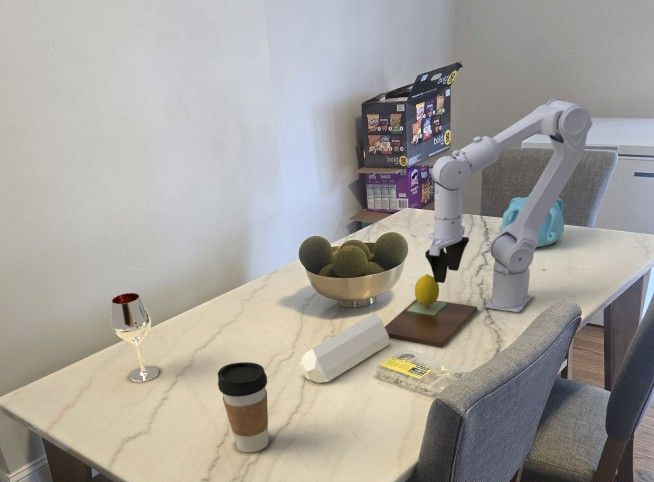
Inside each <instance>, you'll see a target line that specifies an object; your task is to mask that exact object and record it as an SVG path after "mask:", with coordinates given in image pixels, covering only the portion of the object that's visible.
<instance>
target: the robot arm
mask: <svg viewBox="0 0 654 482" xmlns="http://www.w3.org/2000/svg"><path fill="white" fill-rule="evenodd" d="M592 126H593V121H592V118H591V114H590V111H589V109H588V108H587V106H585V105H584V104H581V103H573V102H570V101H566V100H564V99H561V98H554V99H551V100H549V101H547V102H546V103H545V104H542V105H539V106H537V107H536V108H535V109H534V110H533V111H532V112H531V113H529V114H527V115H526V116H524V117H523V118H521V119H520V120H518V121H516V122H515V123H513V124H512V125H510V126H509V127H507V128H505V129H504V130H502V131H500V132H499V133H498V134H496V135H495V136H493V137H490V136H487V135H484V136H482V137H481V136H475V137H474V138H473V140H472V141H473V142H471V143H470V144H468V145H466V146H464V147H463V148H461V149H459V150H458V149H455V150H453V151H452V153H451V154H452V155H444V156H441V157H440V158H438V159H437V160H436V161H435V163H434V164H433V166H432V170H430V176H431V177H430V178H431V179H432V180H433V181H434V219H433V220H434V221H433V222H434V224H433V225H434V227H433V231H434V232H433V233H430V234H429V235H428V236H429V237H428V238H429V239H430V240H432V242H431V244H430V245H429V249H428V250H426V251H425V252H424V254H425V255H424V257H425V258H426V260H427V261H428V263H429V265H430V267H431V268H430V269H431V271H432V275H433V276H432V277H434V280H435V282H438V284H444V283H445V282H446V279H447V275H448V271H455V272H458V271H459V269H460V266H461V261H462V258H463V254H464V252H465V250H466V248H467V245H468V243H469V242H470V238H469V237H468V236H464V235H465V229H466V227H465V225H462V223H463V222H462V220H463V219H462V217H463V186H464V185H465V184H466V182H467V180H468V178H470V177H472V176H473V175H475V174H477V173H479V172H480V171H482V170H484V169H485V168H488V167H489V166H491V165H493V164H494V163H496V162H497V161H498V158H499V156H500V154H501V153H503V152H505V151H506V150H508V149H510V148H512V147H514V146H516V145H518V144H521V143H522V142H524V141H527V140H528V139H530V138H532V137H534V136H536V135H542V136H544V135H545V136H548V137H549V139H550V142H551V145H552V149H553V154H552V156H551V158H550V160H549V161H548V163H547V165H546V166H545V169H544V170H543V171H542V173H541V175H540V177H539V179H538V180H537V181H536V184H535V185H534V187H533V189H532V191H531V192H530V193H529V194H530V196H529V195H528V196H527V197H528V199H527V201H526V203H525V204H524V206H523V208H522V210H521V211H520V213H519V215H518V216H517V218H516V220H515V221H514V222H513V223H511V224H509V225H507V226H506V227H505V228H504V230H503V232H502V233H501V232H500V234H498V235H497V236H495V238H494V239H493V240H492V242H491V244H490V247H489V251H490V255H491V256H492V258H493V259H494V264H493V270H492V271H493V272H492V273H493V274H492V289H491V290H492V291H491V299H490V300H489V301H488V302H487V303H486V304H485V306H484V307H485V308H487V309H491V310H498V311H504V312H505V311H506V312H512V313H520V312H521V311H522V310H523V308H524V307H526V305H527V304H528V303H529V301H530V300H531V299H532V298H533V295H531V294H529V288H530V287H529V286H530V277H531V276H530V274H531V272H530V266H531V265H532V262H533V260H534V256H535V255H534V254H535V251H536V249H537V245H538V241H537V232H538V230H539V228H540V227H541V225H542V223H543V222H544V220H545V218H546V217H547V215H548V213H549V212H550V210H551V208H552V207H553V205H554V203H555V201H556V200H557V198H559V197H560V195H561V193H562V192H563V190H564V188H565V187H566V185H567V184H568V181H569V180H570V178H571V177H572V175H573V173H574V172H575V170H576V168H577V166H578V165H579V163H580V162H581V160H582V159H583V156H584V154H585V149H586V144H587V138H588V133H589V131H590V130H591V128H592Z"/></svg>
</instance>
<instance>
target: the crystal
mask: <svg viewBox="0 0 654 482" xmlns="http://www.w3.org/2000/svg"><path fill="white" fill-rule="evenodd" d="M389 345H390V338H389V336H388V334H387V331H386V329H385V325H384V323H383V321H382V319H381V317H380V316H379V315H377V314H376V313H372V314H371V315H369V316H367V317H365V318H363V319H361V320H360V321H358V322H356V323H355V324H353V325H351V326H349V327H348V328H345V329H344V330H342V331H340V332H339V333H337V334H335V335H333V336H331V337H330V338H328V339H327V340H324V341H323V342H321V343H319V344H317V345H316V346H314V347H312V348H311V349H310V350H308V351H307V352H305V353H304V354H303V357H302V359H301V361H300V362H299V365H300V369H301V372H302V373H303V375H304V376H305V378H306V379H308V380H309V381H312V382H315V383H317V384H322V383H328V382H331V381H332V380H333V379H335V378H337V377H339V376H340V375H342V374H343V373H345V372H346V371H348V370H350V369H352V368H353V367H355V366H356V365H358V364H359V363H361V362H362V361H364V360H366V359H367V358H369V357H370V356H371V357H372V355H374V354H375V353H377V352H378V351H379V352H380V350H382V349H384V348H385V347H387V346H389Z"/></svg>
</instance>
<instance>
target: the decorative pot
mask: <svg viewBox="0 0 654 482" xmlns="http://www.w3.org/2000/svg"><path fill="white" fill-rule="evenodd" d="M530 194H531V193H529V194H528V196H525V197H519V196H518V197H514V198H512V199H511V200H510V202H509V207H508V209H506V210H505V211H504V213H503V215H502V223H501V227H500V234H501V233H502V232H503V230H504V228H505V227H506V226H507V225H509V224H511V223H513V222H514V221H515V220H516V218H517V216H518V215H519V213H520V211H521V210H522V208H523V206H524V204H525V203H526V201H527V199H528V197H529V196H530ZM564 204H565V203H564V201H563V199H561V197H558V198H557V200H556V201H555V203H554V205H553V207H552V208H551V210H550V212H549V213H548V215H547V217H546V218H545V220H544V222H543V223H542V225H541V227H540V228H539V230H538V232H537V241H538V245H537V247H543V246H551V245H553V244H554V243H555V242H557V241H559V239H560V238H561V237H562V236H563V234H564V231H565V223H564V222H565V221H564V216H563V210H564V206H565V205H564ZM537 247H536V248H537Z"/></svg>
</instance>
